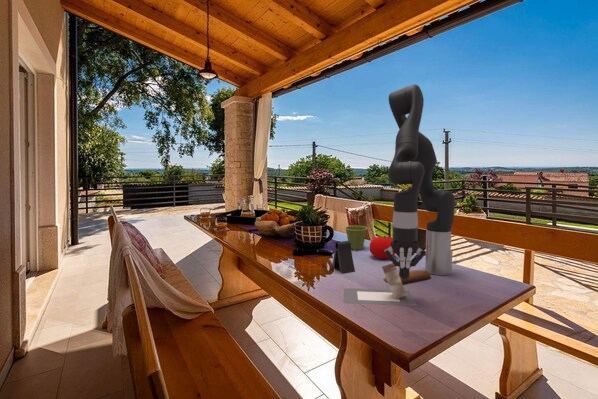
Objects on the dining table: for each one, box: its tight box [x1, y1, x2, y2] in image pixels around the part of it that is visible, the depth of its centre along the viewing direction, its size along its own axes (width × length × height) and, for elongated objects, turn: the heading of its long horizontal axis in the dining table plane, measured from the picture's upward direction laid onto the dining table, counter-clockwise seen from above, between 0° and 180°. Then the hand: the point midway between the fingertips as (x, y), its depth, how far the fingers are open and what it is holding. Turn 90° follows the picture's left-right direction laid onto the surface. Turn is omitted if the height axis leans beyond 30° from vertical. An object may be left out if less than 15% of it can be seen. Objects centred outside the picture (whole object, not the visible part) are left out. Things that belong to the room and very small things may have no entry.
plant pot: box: [344, 225, 368, 251], centre depth 166 cm, size 12×12×11 cm
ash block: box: [381, 262, 407, 299], centre depth 102 cm, size 4×4×10 cm
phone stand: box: [331, 240, 356, 274], centre depth 133 cm, size 9×6×12 cm, turn 21°
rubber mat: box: [343, 287, 418, 307], centre depth 103 cm, size 22×12×1 cm, turn 82°
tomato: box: [368, 235, 396, 260], centre depth 149 cm, size 13×12×11 cm
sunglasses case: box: [383, 269, 432, 286], centre depth 118 cm, size 18×7×7 cm
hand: (404, 278), depth 101 cm, fingers closed
